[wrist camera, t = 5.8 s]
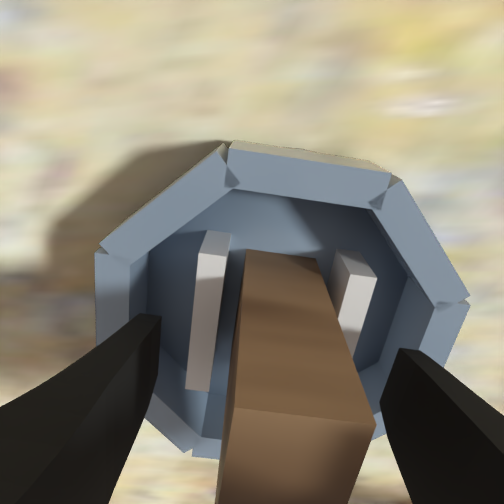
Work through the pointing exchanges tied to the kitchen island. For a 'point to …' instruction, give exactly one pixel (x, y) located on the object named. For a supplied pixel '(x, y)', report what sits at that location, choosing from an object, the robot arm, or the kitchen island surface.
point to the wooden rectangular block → (290, 392)
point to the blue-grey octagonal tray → (278, 241)
